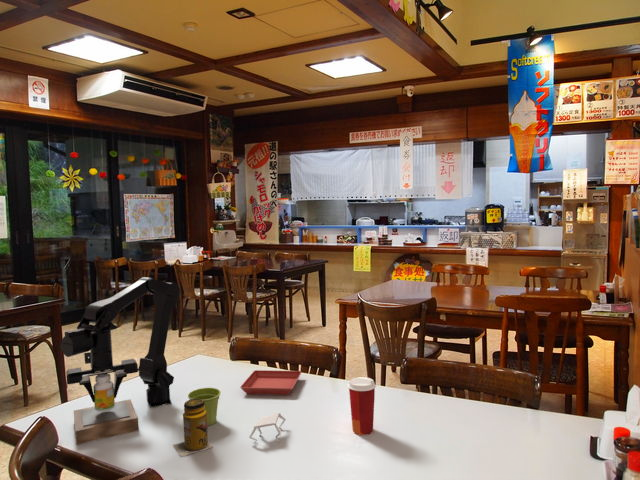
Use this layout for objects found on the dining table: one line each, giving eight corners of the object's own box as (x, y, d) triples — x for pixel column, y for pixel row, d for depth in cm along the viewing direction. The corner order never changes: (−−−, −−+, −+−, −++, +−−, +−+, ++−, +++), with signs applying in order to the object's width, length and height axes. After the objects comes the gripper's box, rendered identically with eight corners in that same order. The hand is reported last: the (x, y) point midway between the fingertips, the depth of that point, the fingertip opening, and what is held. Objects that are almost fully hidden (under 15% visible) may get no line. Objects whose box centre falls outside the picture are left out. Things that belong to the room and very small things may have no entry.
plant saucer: (254, 378, 182) (254, 369, 182) (302, 379, 179) (302, 370, 179) (239, 397, 164) (239, 387, 164) (292, 398, 162) (292, 388, 161)
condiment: (213, 447, 129) (211, 403, 128) (181, 457, 124) (179, 411, 124) (203, 437, 135) (201, 394, 134) (172, 446, 130) (170, 402, 130)
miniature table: (276, 448, 127) (275, 430, 127) (247, 444, 130) (246, 426, 130) (294, 428, 139) (294, 411, 138) (267, 425, 142) (267, 408, 141)
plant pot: (228, 418, 147) (227, 390, 146) (208, 431, 138) (207, 401, 138) (203, 413, 151) (201, 385, 150) (182, 426, 142) (181, 397, 142)
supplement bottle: (90, 410, 142) (88, 377, 141) (105, 403, 147) (103, 371, 146) (104, 413, 140) (102, 379, 139) (119, 405, 145) (116, 373, 144)
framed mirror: (131, 410, 154) (130, 398, 154) (138, 430, 140) (137, 416, 140) (74, 422, 147) (73, 409, 147) (76, 444, 133) (75, 430, 132)
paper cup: (379, 426, 138) (378, 377, 137) (373, 438, 131) (372, 387, 130) (352, 423, 141) (351, 375, 140) (345, 435, 134) (343, 384, 133)
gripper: (131, 336, 154) (134, 384, 155) (64, 345, 145) (67, 397, 146) (136, 344, 144) (139, 396, 145) (65, 355, 135) (68, 410, 136)
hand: (104, 399), depth 143 cm, fingers closed on supplement bottle, 5 cm apart
